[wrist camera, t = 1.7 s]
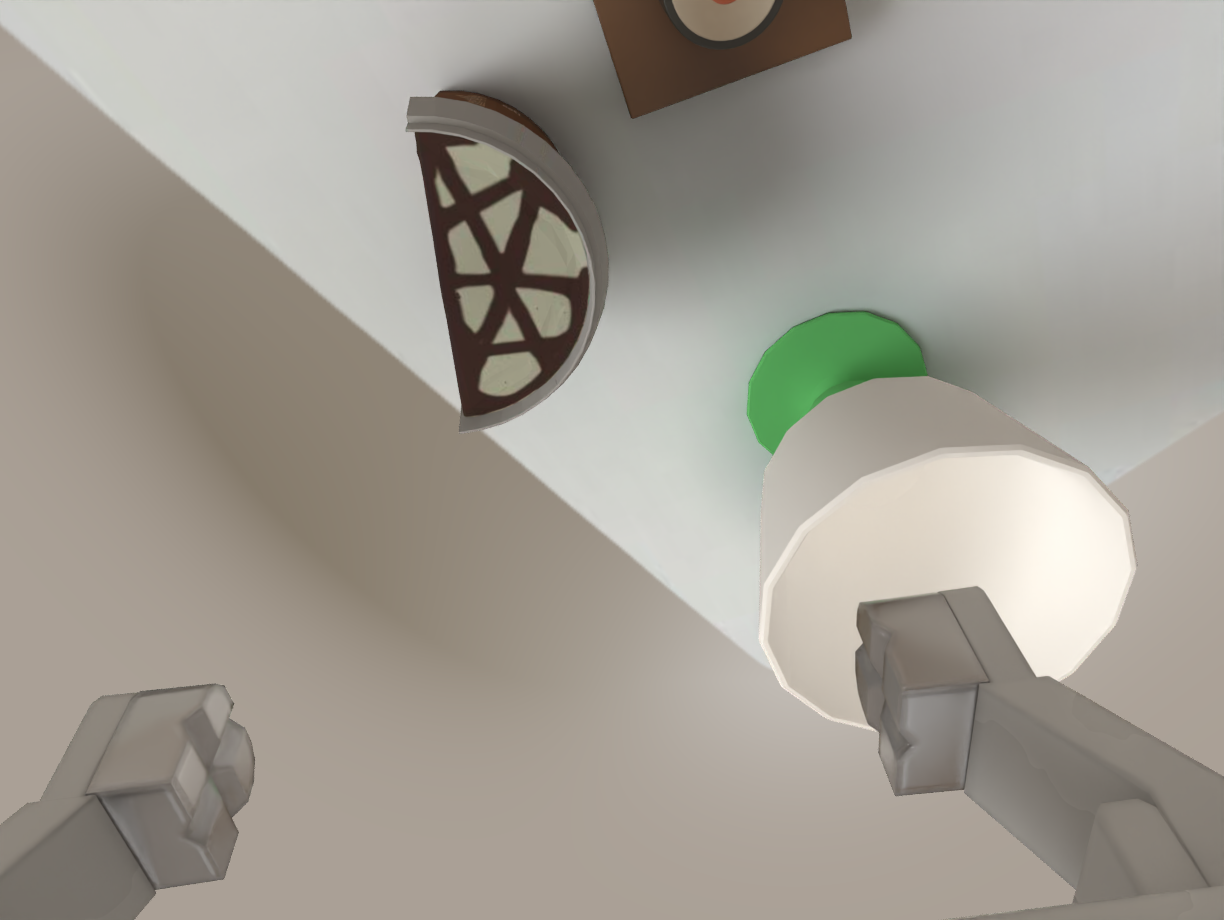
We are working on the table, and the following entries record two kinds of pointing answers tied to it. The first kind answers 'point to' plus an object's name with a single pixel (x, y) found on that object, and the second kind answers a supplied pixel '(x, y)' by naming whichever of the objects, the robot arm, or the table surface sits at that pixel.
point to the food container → (507, 252)
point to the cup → (915, 510)
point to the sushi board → (701, 67)
